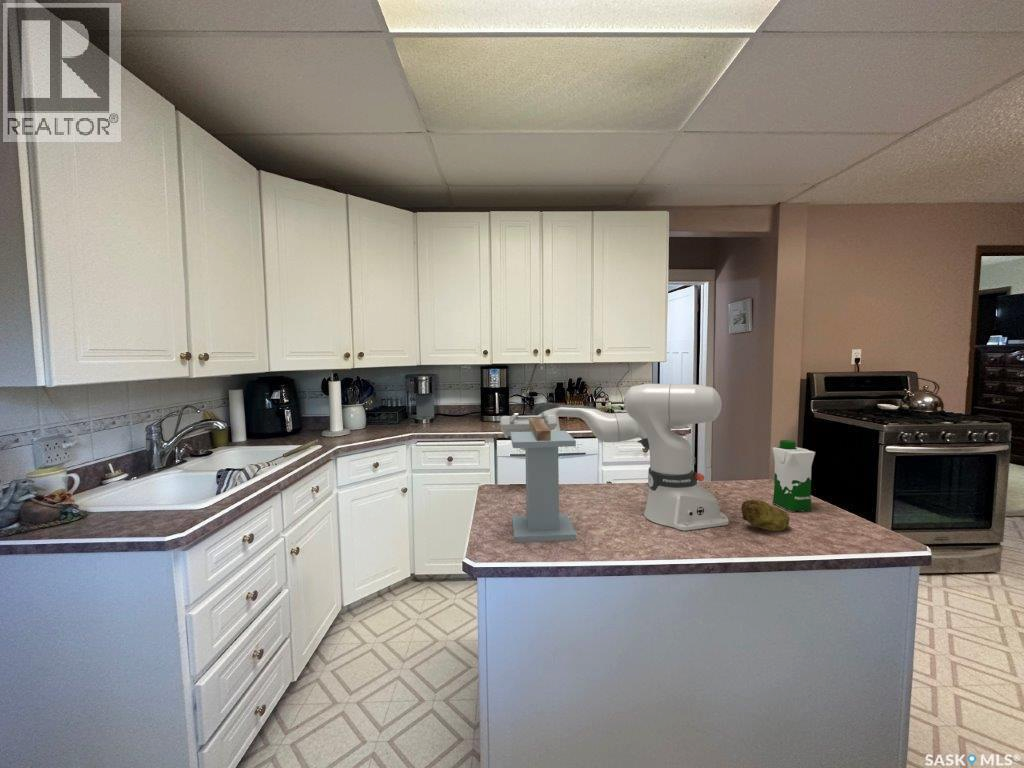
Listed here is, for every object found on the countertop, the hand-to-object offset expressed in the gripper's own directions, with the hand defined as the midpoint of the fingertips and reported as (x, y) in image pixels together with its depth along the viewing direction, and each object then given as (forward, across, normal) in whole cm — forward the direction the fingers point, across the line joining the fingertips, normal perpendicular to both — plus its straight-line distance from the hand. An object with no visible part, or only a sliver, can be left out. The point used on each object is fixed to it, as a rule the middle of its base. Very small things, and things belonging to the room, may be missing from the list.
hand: (529, 415), depth 136 cm
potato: (+14, -61, -40) cm, 74 cm away
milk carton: (+2, -78, -33) cm, 85 cm away
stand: (+10, -1, -38) cm, 39 cm away
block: (+19, 0, -13) cm, 23 cm away
